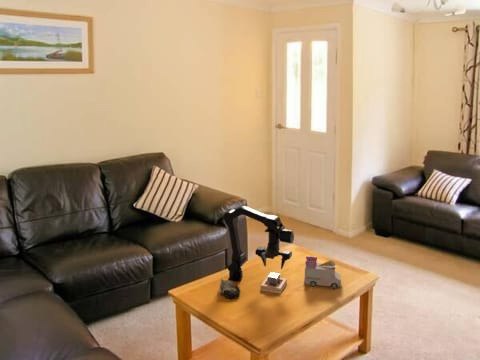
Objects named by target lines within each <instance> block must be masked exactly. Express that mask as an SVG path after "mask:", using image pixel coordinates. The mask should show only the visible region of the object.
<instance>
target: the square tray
mask: <svg viewBox="0 0 480 360" xmlns="http://www.w3.org/2000/svg"><path fill="white" fill-rule="evenodd" d="M268 276H269V275H267V276H266V278H265V279H264V280H263V281H262V282H261V284H260V287H259V288H260V291H265V292H269V293H276V294H281V293H282V292H283V290H284V289H285V287H286V285H287V283H288V279H287V278H283V277H280V284H279V286H278V287H276V286H270V285H267V284H268Z"/></svg>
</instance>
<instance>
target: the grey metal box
mask: <svg viewBox="0 0 480 360" xmlns="http://www.w3.org/2000/svg"><path fill="white" fill-rule="evenodd" d="M267 276H268V284H267V285H270V286H276V287H278V286H279V284H280V278H281V273H278V272H272V271H271V272H270V273H269V274H268V275H267Z"/></svg>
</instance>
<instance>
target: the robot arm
mask: <svg viewBox="0 0 480 360" xmlns="http://www.w3.org/2000/svg"><path fill="white" fill-rule="evenodd" d="M242 215H243V216H244V217H248V218H250V219H253V220H255V221H257V222H260V223H262V225H264V226H265V227H266V229H265V230H264V232H265V233H268V242H267V245H266V246H258V247H257V248H256V249H255V253H254V254H255V255H256V256H257V257H259V258H261V261H262V263H263V267H265V268H266V266H267V259H271V260H273V259H275V257H279V256H281V259H280V260H281V265H280V269H281V270H283V268H284V266H285V263H286V261H288V260H290V259H291V258H292V256H293V252H292V250H288V249H285V250H283V251H280V249H281V248H280V243H287V244H293V243H294V240H295V234H294V232H293V231H294V230H293V229H286V227H285V226H284V225H283V222H282V220H281V219H280V217H279V216H277V215H273V214H265V213H262V212H260V211H258V210H255V209H253V208H251V207H248V206H247V205H241V206H240V207H238V208H236V209H232V208H231V209H230V210H228V211H226V212H224V214H223V215H222V216H223V221H224V224H225V226H227V228H228V233H229V238H230V239H229V240H230V245H231V251H232V253H231V258H230V261H231V263H230V264H229V265H228V266H227V271H229V273H228V276H229V277H228V278H227V280H229V281H232V282H240V281H241V280H242V278H243V277H244V276H243V270H242V269H243V268H242V267H243V265H245V263H246V261H247V256H246V252H243V250H242V248H241V241H240V236H239V231H238V222H239V217H240V216H242Z"/></svg>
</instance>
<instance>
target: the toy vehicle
mask: <svg viewBox="0 0 480 360" xmlns="http://www.w3.org/2000/svg"><path fill="white" fill-rule="evenodd" d="M305 259H306V260H305V264H304V266H305V267H304V278H303V285H309V287H311V288H315V287H317V286H324V287H331V289H332V290H336V289H338V288H341V287H342V279H341V273H338V272H337V271H335V270H336V267H335V266H336V263H335V261H334V260H332V259H329V260H328V261H325V262H323V263H319V262H318V261H317V260H318V257H316V256H305Z"/></svg>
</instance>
